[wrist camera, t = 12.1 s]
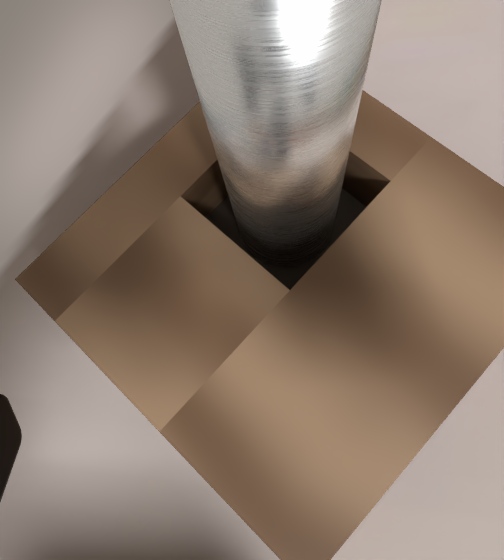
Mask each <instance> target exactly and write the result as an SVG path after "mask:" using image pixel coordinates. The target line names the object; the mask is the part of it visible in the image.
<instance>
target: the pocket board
mask: <svg viewBox="0 0 504 560" xmlns="http://www.w3.org/2000/svg"><path fill="white" fill-rule="evenodd" d="M15 280H16V281H17V282H18V283H19V284H20V285H21V286H22V287H23V288H24V289H25V290H26V291H27V292H28V294H29V295H30V296H31V297H32V298H33V299H34V300H35V301H36V302H37V303H38V304H39V305H40V306H41V307H42V308H43V309H44V310H45V311H46V313H47V314H48V315H49V316H50V317H51V318H52V319H53V320H54V321H55V322H56V323H57V324H58V325H59V326H60V327H61V328H62V329H63V330H64V332H65V333H66V334H67V335H68V336H69V337H70V338H71V339H72V340H73V341H74V342H75V343H76V344H77V345H78V346H79V347H80V348H81V349H82V351H83V352H84V353H85V354H86V355H87V356H88V357H89V358H90V359H91V360H92V361H93V362H94V363H95V364H96V365H97V366H98V367H99V368H100V370H101V371H102V372H103V373H104V374H105V375H106V376H107V377H108V378H109V379H110V380H111V381H112V382H113V383H114V384H115V385H116V386H117V388H118V389H119V390H120V391H121V392H122V393H123V394H124V395H125V396H126V397H127V398H128V399H129V400H130V401H131V402H132V403H133V404H134V405H135V407H136V408H137V409H138V410H139V411H140V412H141V413H142V414H143V415H144V416H145V417H146V418H147V419H148V420H149V421H150V422H151V423H152V424H153V426H154V427H155V428H156V429H157V430H158V431H159V432H160V433H161V434H162V435H163V436H164V437H165V438H166V439H167V440H168V441H169V442H170V443H171V445H172V446H173V447H174V448H175V449H176V450H177V451H178V452H179V453H180V454H181V455H182V456H183V457H184V458H185V459H186V460H187V461H188V462H189V464H190V465H191V466H192V467H193V468H194V469H195V470H196V471H197V472H198V473H199V474H200V475H201V476H202V477H203V478H204V479H205V480H206V481H207V483H208V484H209V485H210V486H211V487H212V488H213V489H214V490H215V491H216V492H217V493H218V494H219V495H220V496H221V497H222V498H223V499H224V500H225V502H226V503H227V504H228V505H229V506H230V507H231V508H232V509H233V510H234V511H235V512H236V513H237V514H238V515H239V516H240V517H241V518H242V520H243V521H244V522H245V523H246V524H247V525H248V526H249V527H250V528H251V529H252V530H253V531H254V532H255V533H256V534H257V535H258V536H259V537H260V539H261V540H262V541H263V542H264V543H265V544H266V545H267V546H268V547H269V548H270V549H271V550H272V551H273V552H274V553H275V554H276V555H277V556H278V558H279V559H280V560H331V558H332V557H333V556H334V555H335V553H336V552H337V551H338V550H339V549H340V547H341V546H342V545H343V544H344V542H345V541H346V540H347V539H348V538H349V536H350V535H351V534H352V533H353V531H354V530H355V529H356V528H357V527H358V525H359V524H360V523H361V522H362V520H363V519H364V518H365V517H366V516H367V514H368V513H369V512H370V511H371V509H372V508H373V507H374V506H375V505H376V503H377V502H378V501H379V500H380V498H381V497H382V496H383V495H384V493H385V492H386V491H387V490H388V489H389V487H390V486H391V485H392V484H393V482H394V481H395V480H396V479H397V478H398V476H399V475H400V474H401V473H402V471H403V470H404V469H405V468H406V467H407V465H408V464H409V463H410V462H411V460H412V459H413V458H414V457H415V456H416V454H417V453H418V452H419V451H420V449H421V448H422V447H423V446H424V445H425V443H426V442H427V441H428V440H429V438H430V437H431V436H432V435H433V434H434V432H435V431H436V430H437V429H438V427H439V426H440V425H441V424H442V422H443V421H444V420H445V419H446V418H447V416H448V415H449V414H450V413H451V411H452V410H453V409H454V408H455V407H456V405H457V404H458V403H459V402H460V400H461V399H462V398H463V397H464V396H465V394H466V393H467V392H468V391H469V389H470V388H471V387H472V386H473V385H474V383H475V382H476V381H477V380H478V378H479V377H480V376H481V375H482V374H483V372H484V371H485V370H486V369H487V367H488V366H489V365H490V364H491V362H492V361H493V360H494V359H495V358H496V356H497V355H498V354H499V353H500V351H501V350H502V349H503V348H504V187H503V186H502V185H500V184H499V183H497V182H496V181H494V180H493V179H491V178H490V177H488V176H487V175H486V174H484V173H483V172H481V171H480V170H478V169H477V168H475V167H474V166H472V165H471V164H470V163H468V162H467V161H465V160H464V159H462V158H461V157H459V156H458V155H456V154H455V153H453V152H452V151H451V150H449V149H448V148H446V147H445V146H443V145H442V144H440V143H439V142H437V141H436V140H435V139H433V138H432V137H430V136H429V135H427V134H426V133H424V132H423V131H421V130H420V129H419V128H417V127H416V126H414V125H413V124H411V123H410V122H408V121H407V120H405V119H404V118H403V117H401V116H400V115H398V114H397V113H395V112H394V111H392V110H391V109H389V108H388V107H386V106H385V105H384V104H382V103H381V102H379V101H378V100H376V99H375V98H373V97H372V96H370V95H369V94H368V93H366V92H365V91H363V90H362V95H361V99H360V104H359V109H358V113H357V118H356V123H355V127H354V132H353V137H352V142H351V146H350V151H349V156H348V160H347V165H346V170H345V175H344V179H343V184H342V189H341V193H340V198H339V203H338V207H337V212H336V217H335V222H334V226H333V231H332V234H331V237H330V240H329V242H328V243H327V245H326V247H325V248H324V249H323V250H322V252H320V253H319V254H318V255H317V256H316V257H315V258H313V259H312V260H310V261H308V262H306V263H303V264H301V265H297V266H290V267H280V266H274V265H270V264H268V263H265V262H263V261H261V260H259V259H258V258H257V257H255V256H254V255H253V254H252V253H251V252H250V251H249V250H248V249H247V247H246V246H245V244H244V242H243V240H242V238H241V235H240V232H239V229H238V225H237V222H236V219H235V215H234V212H233V209H232V205H231V202H230V199H229V196H228V192H227V189H226V186H225V182H224V179H223V176H222V172H221V169H220V166H219V163H218V159H217V156H216V153H215V149H214V146H213V143H212V139H211V136H210V133H209V130H208V126H207V123H206V120H205V116H204V113H203V110H202V106H201V103H200V102H199V103H198V104H197V105H196V106H195V107H194V108H193V109H191V110H190V111H189V112H188V113H187V114H186V115H185V116H184V117H183V118H182V119H181V120H180V121H179V122H178V123H177V124H176V125H175V126H174V127H173V128H172V129H171V130H170V131H169V132H168V133H167V134H165V135H164V136H163V137H162V138H161V139H160V140H159V141H158V142H157V143H156V144H155V145H154V146H153V147H152V148H151V149H150V150H149V151H148V152H147V153H146V154H145V155H144V156H143V157H142V158H141V159H140V160H138V161H137V162H136V163H135V164H134V165H133V166H132V167H131V168H130V169H129V170H128V171H127V172H126V173H125V174H124V175H123V176H122V177H121V178H120V179H119V180H118V181H117V182H116V183H115V184H114V185H112V186H111V187H110V188H109V189H108V190H107V191H106V192H105V193H104V194H103V195H102V196H101V197H100V198H99V199H98V200H97V201H96V202H95V203H94V204H93V205H92V206H91V207H90V208H89V209H88V210H86V211H85V212H84V213H83V214H82V215H81V216H80V217H79V218H78V219H77V220H76V221H75V222H74V223H73V224H72V225H71V226H70V227H69V228H68V229H67V230H66V231H65V232H64V233H63V234H62V235H61V236H59V237H58V238H57V239H56V240H55V241H54V242H53V243H52V244H51V245H50V246H49V247H48V248H47V249H46V250H45V251H44V252H43V253H42V254H41V255H40V256H39V257H38V258H37V259H36V260H35V261H33V262H32V263H31V264H30V265H29V266H28V267H27V268H26V269H25V270H24V271H23V272H22V273H21V274H20V275H19V276H18V277H17V278H16V279H15Z"/></svg>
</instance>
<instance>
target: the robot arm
mask: <svg viewBox="0 0 504 560" xmlns="http://www.w3.org/2000/svg"><path fill="white" fill-rule="evenodd" d="M21 437H22V434H21V429H20V426H19V424H18V421H17V419H16V417H15V414H14V412H13V410H12V407H11V405H10V403H9V400H8V399H7V397H5V396H4V395H2V394H0V501H1V499H2V496H3V493H4V490H5V487H6V484H7V482H8V479H9V476H10V473H11V470H12V467H13V464H14V462H15V459H16V456H17V453H18V450H19V447H20V444H21Z"/></svg>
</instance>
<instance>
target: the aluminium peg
mask: <svg viewBox="0 0 504 560" xmlns="http://www.w3.org/2000/svg"><path fill="white" fill-rule="evenodd" d="M169 1H170V4H171V7H172V11H173V14H174V17H175V21H176V24H177V27H178V31H179V34H180V37H181V40H182V44H183V47H184V50H185V54H186V57H187V60H188V64H189V67H190V70H191V73H192V77H193V80H194V83H195V87H196V90H197V93H198V97H199V100H200V103H201V106H202V110H203V113H204V116H205V120H206V123H207V126H208V130H209V133H210V136H211V139H212V143H213V146H214V149H215V153H216V156H217V159H218V163H219V166H220V169H221V172H222V176H223V179H224V182H225V186H226V189H227V192H228V196H229V199H230V202H231V205H232V209H233V212H234V215H235V219H236V222H237V225H238V229H239V232H240V235H241V238H242V240H243V242H244V244H245V246H246V247H247V249H248V250H249V251H250V252H251V253H252V254H253V255H254V256H255V257H257V258H258V259H259V260H261V261H263V262H265V263H268V264H270V265H274V266H280V267H290V266H297V265H301V264H303V263H306V262H308V261H310V260H312V259H313V258H315V257H316V256H317V255H318V254H319V253H320V252H322V250H323V249H324V248H325V247H326V245H327V243H328V242H329V240H330V237H331V234H332V231H333V226H334V222H335V217H336V212H337V207H338V203H339V198H340V193H341V189H342V184H343V179H344V175H345V170H346V165H347V160H348V156H349V151H350V146H351V142H352V137H353V132H354V127H355V123H356V118H357V113H358V109H359V104H360V99H361V95H362V90H363V85H364V80H365V76H366V71H367V66H368V62H369V57H370V52H371V47H372V43H373V38H374V33H375V29H376V24H377V19H378V15H379V10H380V5H381V0H169Z"/></svg>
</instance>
